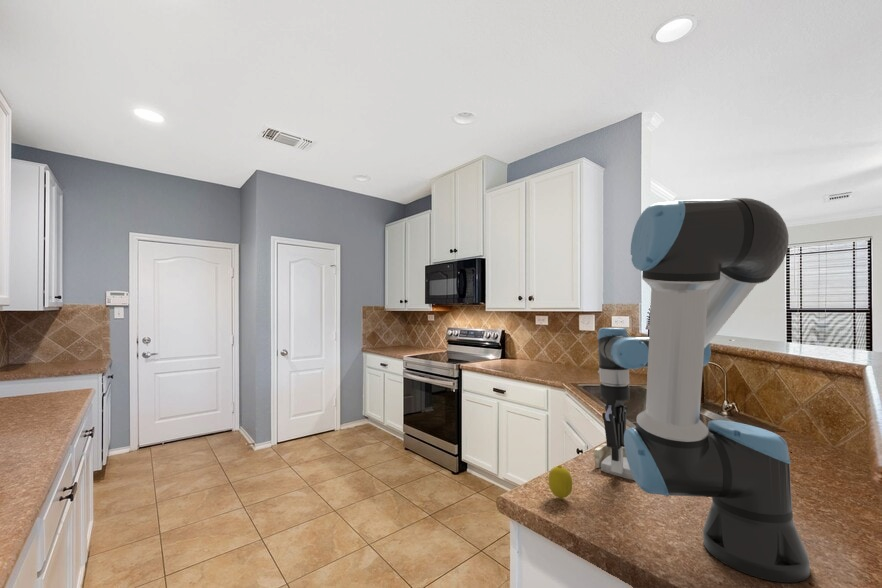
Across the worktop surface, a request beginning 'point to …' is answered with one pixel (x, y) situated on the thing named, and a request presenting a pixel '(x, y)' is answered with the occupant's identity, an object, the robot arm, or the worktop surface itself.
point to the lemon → (560, 482)
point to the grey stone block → (607, 468)
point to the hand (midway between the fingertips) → (617, 471)
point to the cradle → (603, 454)
